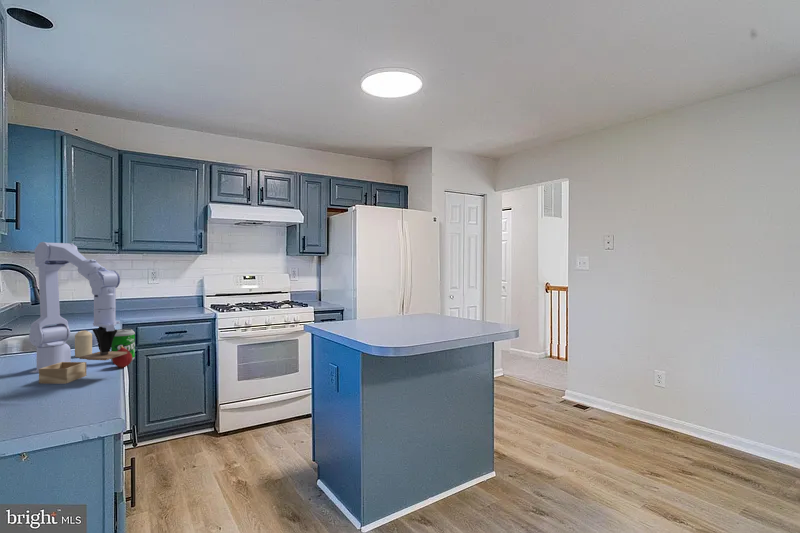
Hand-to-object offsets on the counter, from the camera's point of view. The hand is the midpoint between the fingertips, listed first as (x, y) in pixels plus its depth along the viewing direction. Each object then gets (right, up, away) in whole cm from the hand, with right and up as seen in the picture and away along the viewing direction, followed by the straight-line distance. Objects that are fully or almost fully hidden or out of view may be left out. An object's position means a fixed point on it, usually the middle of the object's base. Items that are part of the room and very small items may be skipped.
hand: (104, 351), depth 138 cm
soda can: (-9, -9, +24) cm, 27 cm away
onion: (-3, -9, +14) cm, 17 cm away
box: (-12, -9, -2) cm, 15 cm away
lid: (0, -2, 0) cm, 2 cm away
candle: (-31, -9, +33) cm, 46 cm away
